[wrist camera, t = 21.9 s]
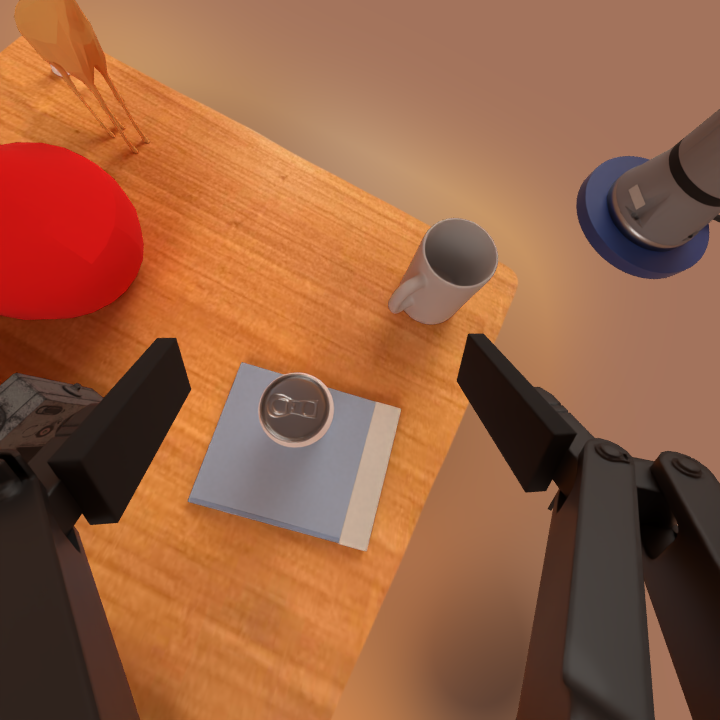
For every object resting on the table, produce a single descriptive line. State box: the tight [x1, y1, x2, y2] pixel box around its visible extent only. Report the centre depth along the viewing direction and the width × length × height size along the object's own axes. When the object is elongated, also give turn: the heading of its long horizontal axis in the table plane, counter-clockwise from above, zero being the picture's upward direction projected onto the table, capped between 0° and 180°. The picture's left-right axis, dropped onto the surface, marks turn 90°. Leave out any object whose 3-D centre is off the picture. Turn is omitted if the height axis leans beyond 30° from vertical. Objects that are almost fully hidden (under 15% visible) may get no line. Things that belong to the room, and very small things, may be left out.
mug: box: [388, 218, 498, 324], centre depth 39 cm, size 12×8×11 cm
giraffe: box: [14, 0, 150, 153], centre depth 33 cm, size 16×4×25 cm, turn 58°
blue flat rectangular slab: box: [188, 362, 401, 551], centre depth 37 cm, size 20×16×1 cm
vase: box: [0, 142, 144, 320], centre depth 31 cm, size 18×18×19 cm
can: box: [258, 373, 334, 448], centre depth 32 cm, size 6×6×12 cm
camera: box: [0, 373, 103, 463], centre depth 30 cm, size 16×4×10 cm, turn 142°
